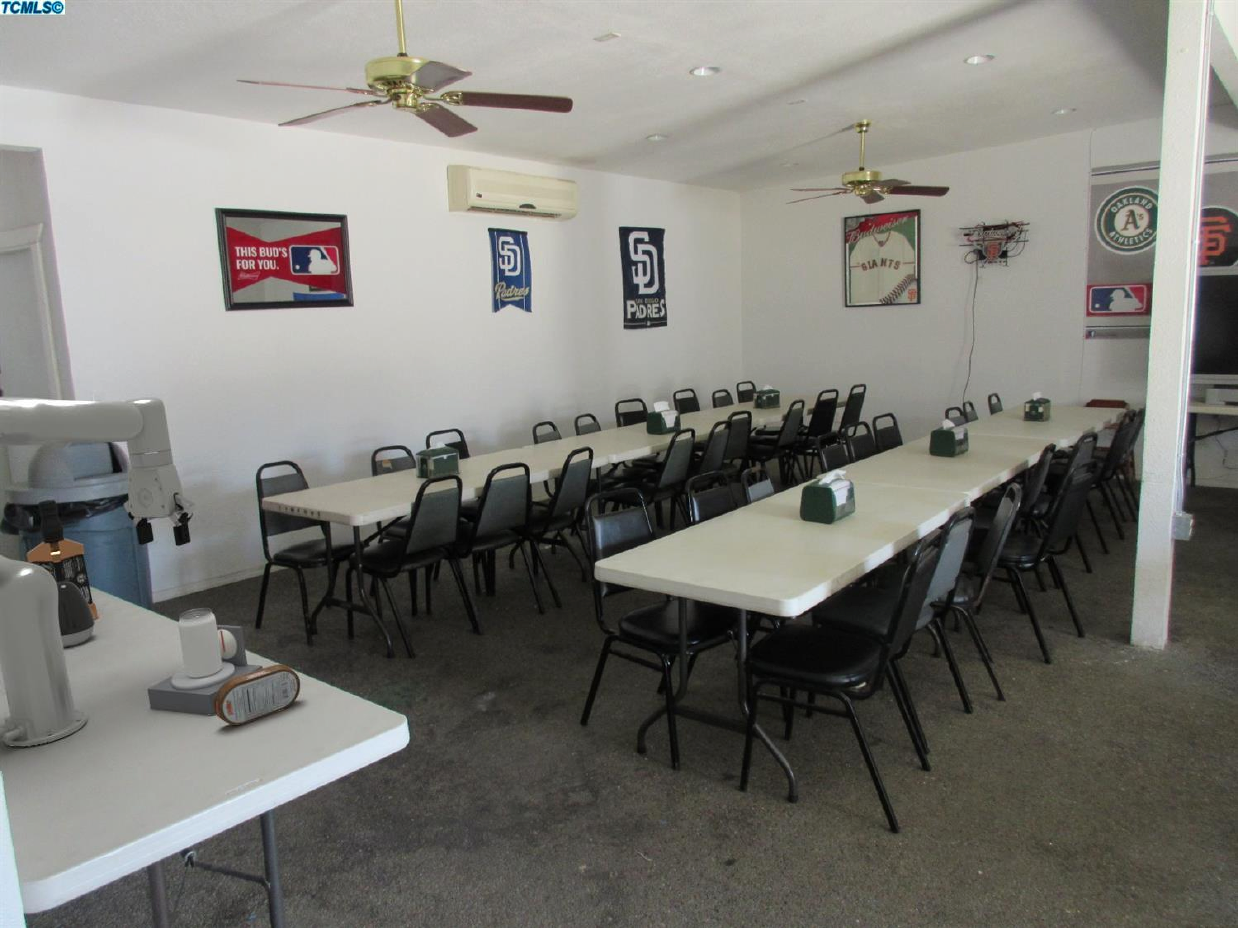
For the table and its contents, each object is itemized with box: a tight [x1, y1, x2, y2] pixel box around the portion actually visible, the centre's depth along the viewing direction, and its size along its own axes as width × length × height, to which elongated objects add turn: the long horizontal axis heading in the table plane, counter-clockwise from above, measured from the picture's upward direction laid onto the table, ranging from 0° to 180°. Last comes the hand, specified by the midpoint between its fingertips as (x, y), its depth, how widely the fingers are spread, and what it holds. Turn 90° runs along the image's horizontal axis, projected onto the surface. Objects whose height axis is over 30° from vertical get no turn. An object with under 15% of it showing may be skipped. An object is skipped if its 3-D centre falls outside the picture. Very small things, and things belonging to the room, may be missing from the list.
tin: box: [213, 663, 301, 726], centre depth 156 cm, size 15×3×8 cm, turn 134°
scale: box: [147, 624, 263, 716], centre depth 166 cm, size 14×15×12 cm
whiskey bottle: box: [26, 499, 99, 620], centre depth 216 cm, size 10×10×32 cm
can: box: [177, 607, 222, 678], centre depth 165 cm, size 6×6×12 cm
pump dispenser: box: [56, 581, 96, 648], centre depth 202 cm, size 10×10×15 cm
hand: (164, 543), depth 174 cm, fingers open, 9 cm apart
